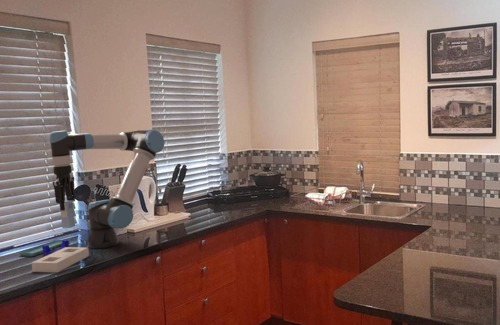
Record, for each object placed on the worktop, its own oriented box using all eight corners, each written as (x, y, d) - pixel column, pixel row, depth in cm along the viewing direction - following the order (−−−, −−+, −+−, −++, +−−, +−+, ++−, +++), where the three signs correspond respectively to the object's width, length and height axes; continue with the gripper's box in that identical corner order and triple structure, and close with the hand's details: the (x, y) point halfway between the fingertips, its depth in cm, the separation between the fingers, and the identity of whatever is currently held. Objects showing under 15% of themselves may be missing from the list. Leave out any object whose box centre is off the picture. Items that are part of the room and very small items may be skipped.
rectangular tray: (57, 243, 262) (56, 238, 262) (70, 244, 259) (70, 239, 259) (18, 257, 238) (18, 252, 238) (33, 258, 235) (32, 253, 235)
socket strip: (66, 257, 231) (65, 247, 231) (89, 258, 228) (88, 247, 228) (32, 273, 208) (31, 262, 207) (57, 274, 205) (56, 263, 204)
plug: (67, 225, 225) (64, 200, 224) (76, 225, 224) (73, 200, 223) (62, 228, 222) (59, 202, 220) (71, 227, 220) (68, 201, 219)
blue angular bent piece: (48, 258, 231) (47, 246, 231) (43, 257, 234) (42, 245, 234) (71, 252, 241) (70, 240, 240) (66, 251, 244) (65, 239, 243)
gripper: (65, 163, 229) (71, 212, 232) (42, 168, 213) (48, 220, 215) (80, 162, 227) (85, 211, 230) (57, 167, 211) (63, 220, 213)
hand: (67, 215), depth 222 cm, fingers closed on plug, 4 cm apart
